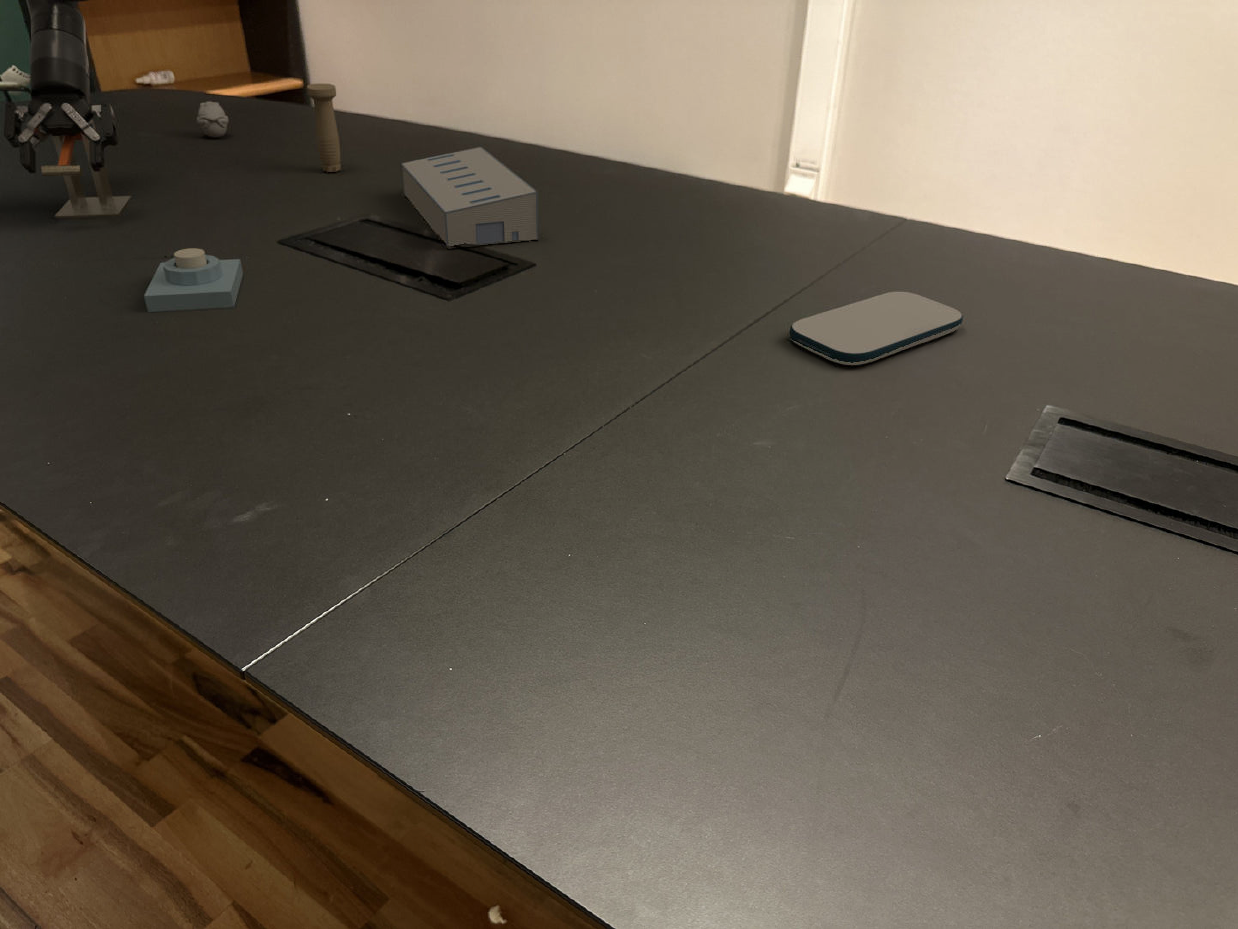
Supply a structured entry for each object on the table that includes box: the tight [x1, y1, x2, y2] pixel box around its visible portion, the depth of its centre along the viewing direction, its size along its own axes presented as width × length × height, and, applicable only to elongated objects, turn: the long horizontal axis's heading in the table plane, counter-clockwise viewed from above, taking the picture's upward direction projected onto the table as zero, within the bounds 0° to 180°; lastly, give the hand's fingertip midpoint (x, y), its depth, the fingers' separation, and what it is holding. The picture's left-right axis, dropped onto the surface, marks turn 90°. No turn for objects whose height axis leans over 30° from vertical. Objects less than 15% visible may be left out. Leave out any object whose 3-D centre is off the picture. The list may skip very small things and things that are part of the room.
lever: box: [40, 132, 84, 177], centre depth 134 cm, size 13×5×2 cm, turn 14°
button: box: [173, 247, 207, 269], centre depth 115 cm, size 4×4×2 cm
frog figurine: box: [196, 100, 229, 139], centre depth 188 cm, size 6×7×7 cm
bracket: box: [50, 118, 132, 220], centre depth 140 cm, size 10×9×15 cm
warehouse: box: [400, 146, 539, 246], centre depth 147 cm, size 30×14×8 cm, turn 24°
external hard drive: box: [788, 290, 964, 363], centre depth 113 cm, size 24×12×2 cm, turn 127°
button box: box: [143, 254, 244, 313], centre depth 116 cm, size 12×10×4 cm
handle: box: [306, 83, 342, 173], centre depth 166 cm, size 5×6×15 cm
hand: (63, 169), depth 131 cm, fingers open, 8 cm apart
